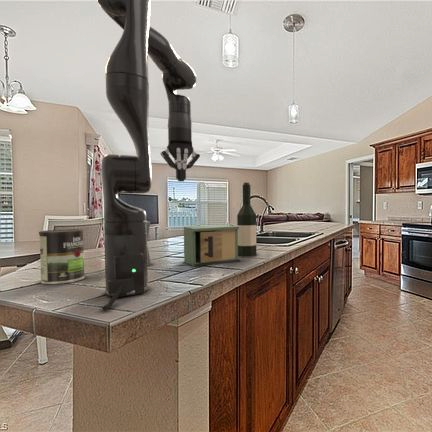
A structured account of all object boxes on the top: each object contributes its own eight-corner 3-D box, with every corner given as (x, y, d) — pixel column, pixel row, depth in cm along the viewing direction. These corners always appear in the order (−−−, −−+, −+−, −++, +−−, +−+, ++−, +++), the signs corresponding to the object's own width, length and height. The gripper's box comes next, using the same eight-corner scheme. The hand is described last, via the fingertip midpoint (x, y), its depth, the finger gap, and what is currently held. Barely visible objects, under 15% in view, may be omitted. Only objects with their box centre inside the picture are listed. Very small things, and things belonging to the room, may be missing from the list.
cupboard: (239, 261, 119) (239, 226, 118) (194, 266, 109) (193, 228, 109) (227, 257, 128) (226, 224, 128) (184, 261, 118) (183, 226, 118)
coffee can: (93, 276, 95) (92, 229, 95) (62, 285, 85) (60, 232, 84) (64, 275, 97) (62, 228, 97) (30, 283, 87) (28, 231, 87)
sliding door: (228, 262, 111) (228, 232, 110) (206, 265, 106) (206, 233, 106) (221, 260, 116) (221, 230, 115) (200, 262, 111) (199, 232, 111)
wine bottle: (234, 254, 136) (233, 183, 135) (252, 252, 140) (252, 183, 139) (241, 256, 129) (240, 181, 127) (260, 255, 133) (259, 182, 131)
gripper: (162, 123, 99) (163, 179, 100) (203, 129, 107) (204, 181, 108) (156, 128, 106) (157, 181, 106) (196, 133, 113) (196, 182, 114)
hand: (181, 181), depth 107 cm, fingers closed
